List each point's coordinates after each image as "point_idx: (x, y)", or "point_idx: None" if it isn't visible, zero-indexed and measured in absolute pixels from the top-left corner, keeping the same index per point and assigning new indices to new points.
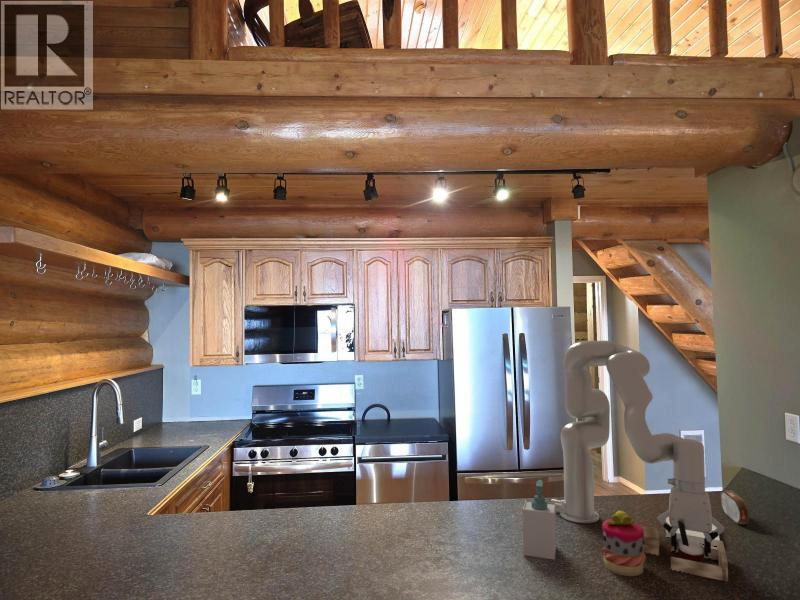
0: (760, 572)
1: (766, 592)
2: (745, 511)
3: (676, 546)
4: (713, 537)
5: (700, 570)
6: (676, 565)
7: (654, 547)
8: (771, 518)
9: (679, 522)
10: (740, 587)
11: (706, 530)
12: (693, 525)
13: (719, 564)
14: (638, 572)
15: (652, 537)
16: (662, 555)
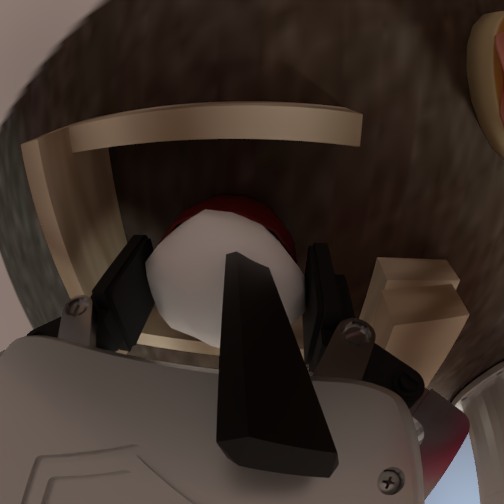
0: (42, 259)
1: (7, 122)
2: None
3: (314, 260)
4: (56, 326)
5: (181, 105)
6: (319, 106)
7: (405, 279)
8: None
9: (314, 458)
10: (54, 99)
11: (26, 347)
12: (109, 412)
13: None
14: (485, 19)
15: (425, 320)
16: (360, 263)
